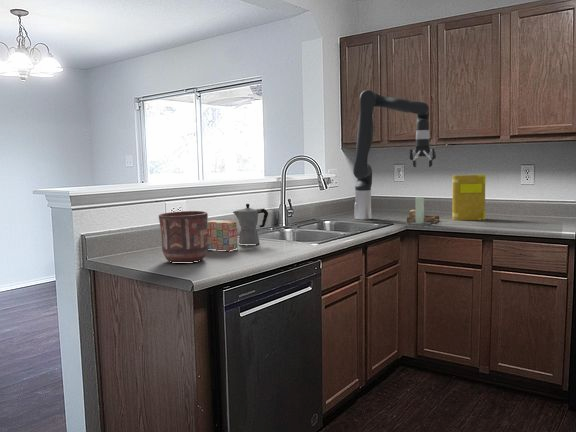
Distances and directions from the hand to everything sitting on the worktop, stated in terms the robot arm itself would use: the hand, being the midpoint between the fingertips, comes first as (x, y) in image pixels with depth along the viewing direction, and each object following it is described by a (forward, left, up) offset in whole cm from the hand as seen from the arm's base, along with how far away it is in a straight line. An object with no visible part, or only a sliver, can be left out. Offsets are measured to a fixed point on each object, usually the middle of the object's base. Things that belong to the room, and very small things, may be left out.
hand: (422, 167), depth 294 cm
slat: (+4, -22, -30) cm, 37 cm away
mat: (+4, -22, -30) cm, 37 cm away
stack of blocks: (-56, -125, -30) cm, 140 cm away
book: (+24, +6, -30) cm, 39 cm away
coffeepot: (-48, -108, -30) cm, 122 cm away
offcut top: (-2, -11, -26) cm, 29 cm away
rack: (+3, -11, -30) cm, 32 cm away
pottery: (-51, -149, -30) cm, 160 cm away
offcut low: (-2, -11, -29) cm, 31 cm away
